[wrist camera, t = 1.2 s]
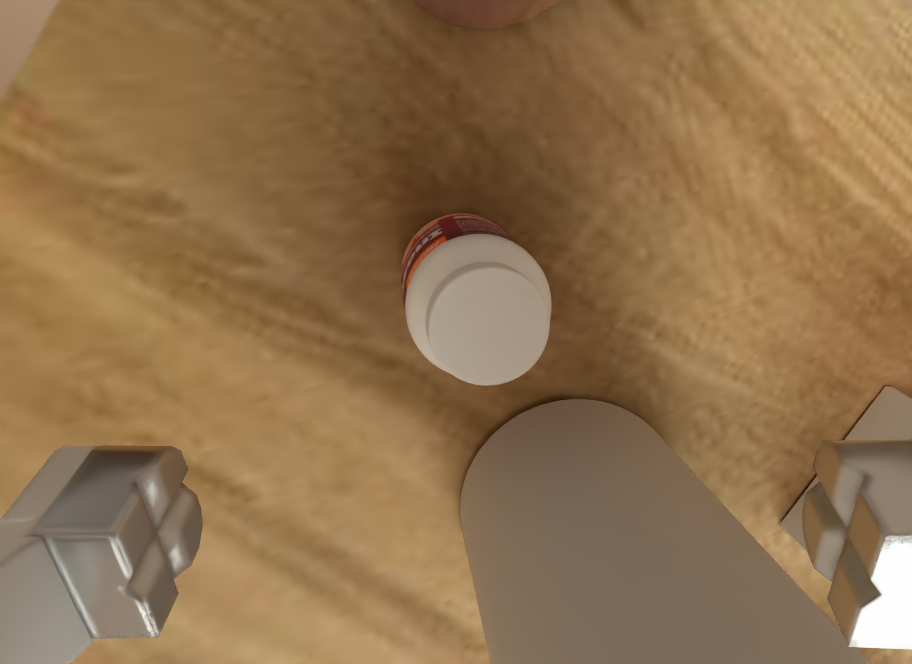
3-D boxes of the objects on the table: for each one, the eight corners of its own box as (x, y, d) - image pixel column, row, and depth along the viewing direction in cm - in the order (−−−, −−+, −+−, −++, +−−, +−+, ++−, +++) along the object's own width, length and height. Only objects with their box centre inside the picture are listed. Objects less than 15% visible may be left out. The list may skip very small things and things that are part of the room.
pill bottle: (412, 200, 37) (427, 228, 27) (530, 225, 38) (589, 262, 28) (388, 318, 39) (393, 389, 28) (502, 339, 40) (548, 416, 29)
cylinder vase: (414, 523, 42) (465, 1044, 18) (551, 351, 40) (811, 678, 16) (579, 627, 45) (811, 1191, 21) (715, 471, 43) (1137, 896, 19)
